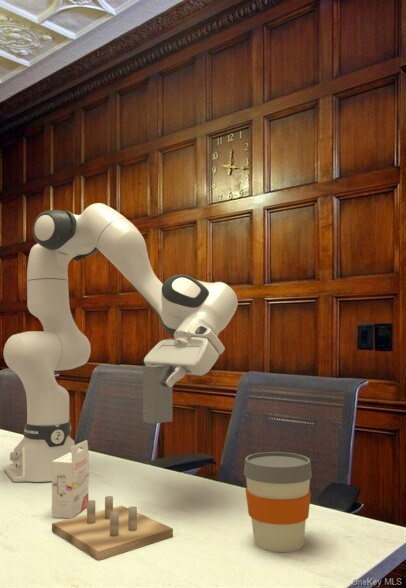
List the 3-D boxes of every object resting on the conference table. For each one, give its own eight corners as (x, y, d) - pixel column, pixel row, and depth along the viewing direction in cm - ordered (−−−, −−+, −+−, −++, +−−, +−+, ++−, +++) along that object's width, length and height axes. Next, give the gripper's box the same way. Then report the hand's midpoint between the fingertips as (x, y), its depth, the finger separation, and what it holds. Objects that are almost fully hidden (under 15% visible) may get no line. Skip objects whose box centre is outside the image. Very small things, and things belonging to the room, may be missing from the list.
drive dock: (51, 531, 105) (52, 502, 105) (121, 512, 115) (121, 486, 116) (98, 560, 91) (98, 527, 92) (172, 536, 102) (172, 506, 102)
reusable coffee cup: (326, 551, 95) (324, 464, 96) (260, 560, 91) (259, 470, 92) (294, 526, 107) (293, 449, 108) (234, 533, 103) (234, 454, 104)
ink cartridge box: (68, 504, 121) (69, 438, 122) (89, 506, 120) (89, 439, 121) (50, 517, 113) (51, 446, 114) (72, 519, 112) (73, 447, 113)
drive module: (143, 421, 117) (143, 365, 117) (161, 418, 120) (161, 364, 121) (153, 423, 114) (153, 366, 114) (172, 421, 117) (172, 365, 118)
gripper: (159, 329, 131) (124, 372, 124) (215, 329, 116) (179, 377, 109) (173, 347, 134) (140, 390, 127) (230, 349, 118) (196, 398, 111)
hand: (159, 384), depth 118 cm, fingers closed on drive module, 4 cm apart
